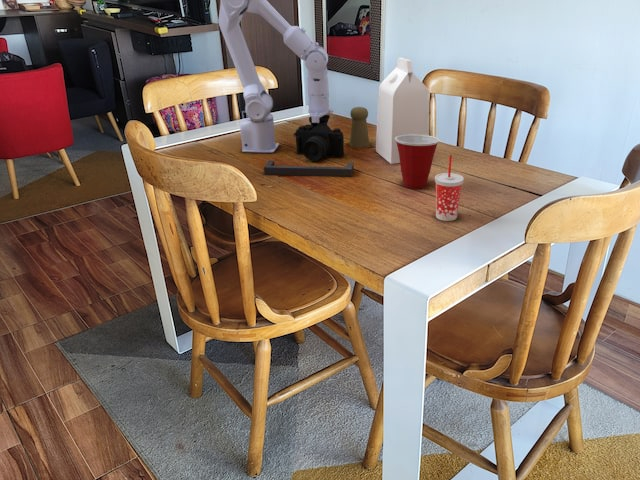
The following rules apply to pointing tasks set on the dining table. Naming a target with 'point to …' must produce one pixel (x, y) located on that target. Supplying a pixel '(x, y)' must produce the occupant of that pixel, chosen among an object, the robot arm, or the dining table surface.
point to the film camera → (319, 141)
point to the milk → (400, 109)
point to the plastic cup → (416, 158)
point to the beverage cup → (448, 194)
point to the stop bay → (308, 170)
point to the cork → (359, 128)
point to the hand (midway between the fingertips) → (320, 141)
